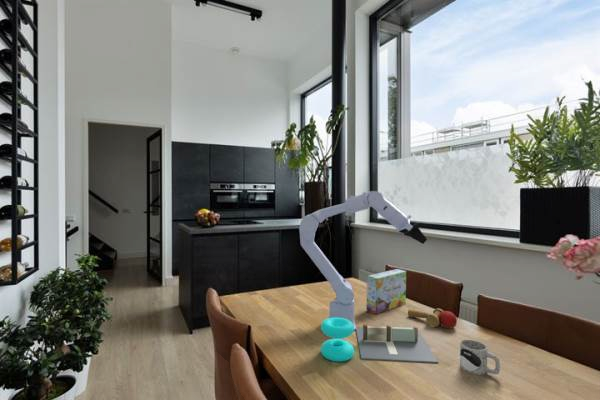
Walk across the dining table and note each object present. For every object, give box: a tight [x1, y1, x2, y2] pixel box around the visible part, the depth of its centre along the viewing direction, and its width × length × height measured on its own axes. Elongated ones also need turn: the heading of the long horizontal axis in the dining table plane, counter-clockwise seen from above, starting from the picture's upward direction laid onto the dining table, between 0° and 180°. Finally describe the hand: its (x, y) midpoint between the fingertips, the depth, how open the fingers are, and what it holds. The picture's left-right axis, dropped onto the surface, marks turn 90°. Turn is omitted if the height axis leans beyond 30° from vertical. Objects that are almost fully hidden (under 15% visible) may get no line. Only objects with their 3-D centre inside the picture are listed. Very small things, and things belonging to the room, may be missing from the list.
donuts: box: [320, 317, 355, 362], centre depth 97 cm, size 10×10×10 cm
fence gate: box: [391, 326, 419, 342], centre depth 104 cm, size 8×1×4 cm, turn 84°
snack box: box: [365, 268, 407, 315], centre depth 137 cm, size 21×6×15 cm, turn 129°
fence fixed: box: [362, 324, 392, 342], centre depth 105 cm, size 9×1×5 cm, turn 84°
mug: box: [459, 339, 501, 376], centre depth 88 cm, size 10×7×7 cm, turn 37°
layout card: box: [355, 326, 439, 364], centre depth 104 cm, size 22×22×1 cm
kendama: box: [407, 308, 458, 329], centre depth 121 cm, size 8×6×18 cm
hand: (421, 240), depth 115 cm, fingers open, 7 cm apart
